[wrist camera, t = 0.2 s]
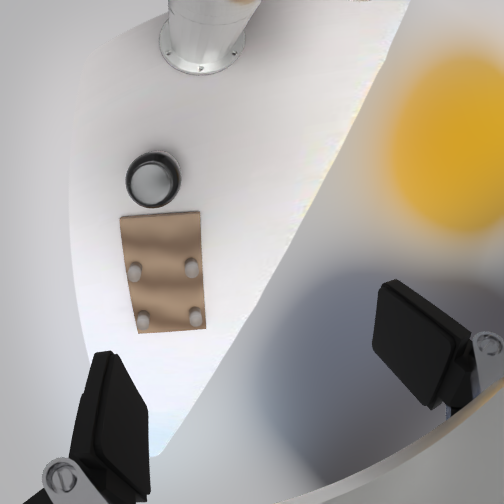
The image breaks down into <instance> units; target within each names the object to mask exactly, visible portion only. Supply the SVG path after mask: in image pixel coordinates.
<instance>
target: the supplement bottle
mask: <svg viewBox="0 0 504 504" xmlns="http://www.w3.org/2000/svg"><path fill="white" fill-rule="evenodd" d="M180 185H181V170H180V166H179V163H178V161H177V160H176V159H175V157H174V156H172V155H171V154H169V153H167V152H165V151H152V152H148V153H145V154H143V155H141V156H139V157H138V158H136V159H135V160H134V161H133V162H132V164H131V165H130V167H129V168H128V171H127V174H126V189H127V191H128V194H129V196H130V197H131V198H132V200H133V201H134V202H136V203H137V204H139V205H140V206H143V207H146V208H159V207H162V206H164V205H166V204H168V203H169V202H171V201H172V200H173V199H174V198H175V196H176V195H177V193H178V191H179V189H180Z"/></svg>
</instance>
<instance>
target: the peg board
mask: <svg viewBox="0 0 504 504" xmlns="http://www.w3.org/2000/svg"><path fill="white" fill-rule="evenodd" d="M120 229H121V238H122V246H123V253H124V260H125V267H126V273H127V279H128V285H129V291H130V296H131V301H132V307H133V312H134V316H135V321H136V326H137V330H138V334H140V333H157V332H172V331H185V330H197V329H206V319H205V305H204V290H203V273H202V253H201V227H200V212H183V213H167V214H153V215H139V216H127V217H121V218H120Z"/></svg>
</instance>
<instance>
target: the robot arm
mask: <svg viewBox="0 0 504 504" xmlns="http://www.w3.org/2000/svg"><path fill="white" fill-rule="evenodd" d="M261 1H262V0H168V5H169V6H168V7H169V19H168V20H167V21H166V22H165V24H164V25H163V27H162V30H161V32H160V37H159V45H160V50H161V52H162V55H163V57H164V58H165V59H166V61H167V62H168V63H169V64H170V65H171V66H172V67H174V68H176V69H177V70H179V71H182V72H184V73H188V74H193V75H207V74H212V73H216V72H219V71H221V70H223V69H225V68H227V67H228V66H230V65H231V64H232V63H233V62H234V61H235V60H236V59H237V58H238V57H239V55H240V54H241V52H242V50H243V48H244V44H245V32H244V28H245V26H246V25H247V23H248V21H249V20H250V18H251V17H252V15H253V14H254V12H255V11H256V9H257V8H258V6H259V4H260V3H261ZM350 1H358V2H364V1H370V0H350ZM168 53H170V55H167V54H168ZM232 54H235V56H234V55H232ZM199 69H202V71H199ZM470 336H471V332H470V331H468V330H467V329H466V328H465V327H463V326H462V325H461V324H459V323H458V322H457V321H455V320H454V319H453V318H451V317H450V316H448V315H447V314H446V313H444V312H443V311H442V310H440V309H439V308H437V307H436V306H435V305H433V304H432V303H431V302H429V301H428V300H426V299H425V298H423V297H422V296H421V295H419V294H418V293H416V292H414V291H413V290H412V289H411V288H409V287H408V286H406V285H405V284H403V283H402V282H400V281H399V280H397V279H396V280H395V279H394V280H392V281H389V282H386V283H383V284H382V286H381V288H380V289H379V291H378V300H377V310H376V318H375V326H374V334H373V340H372V347H373V350H374V351H375V353H376V354H377V355H378V356H379V357H380V358H381V359H382V361H383V362H384V363H385V364H386V365H387V366H388V367H389V368H390V369H391V370H392V371H393V373H394V374H395V375H396V376H397V377H398V378H399V379H400V380H401V381H402V383H403V384H404V385H405V386H406V387H407V388H408V389H409V390H410V391H411V393H412V394H413V395H414V396H415V397H416V398H417V399H418V400H419V402H420V403H421V404H422V405H424V406H428V407H429V409H430V410H433V409H434V408H436V407H437V406H439V405H440V404H441V403H442V401H443V402H444V403H445V404H446V421H445V422H443V423H442V424H441V425H439V426H438V427H437V428H435V429H433V430H432V431H431V432H429V433H428V434H426V435H425V436H423V437H422V438H420V439H418V440H417V441H415V442H414V443H412V444H410V445H409V446H407V447H405V448H404V449H402V450H400V451H399V452H397V453H395V454H393V455H392V456H390V457H388V458H386V459H384V460H382V461H380V462H378V463H377V464H374V465H373V466H371V467H369V468H367V469H364V470H363V471H360V472H358V473H356V474H354V475H352V476H349V477H347V478H345V479H343V480H340V481H338V482H336V483H333V484H330V485H328V486H325V487H323V488H320V489H318V490H315V491H312V492H309V493H306V494H303V495H300V496H297V497H294V498H291V499H288V500H284V501H281V502H277V503H274V504H504V340H503V339H502V338H501V337H500V336H498V335H497V334H494V333H492V332H480V333H478V334H476V335H475V336H474V338H473V341H471V340H470V339H469V338H470ZM149 471H150V470H149V441H148V409H147V406H146V404H145V402H144V401H143V399H142V397H141V396H140V394H139V392H138V390H137V389H136V387H135V385H134V383H133V381H132V380H131V378H130V376H129V374H128V372H127V370H126V368H125V366H124V364H123V363H122V361H121V359H120V357H119V355H118V354H114V353H113V352H112V351H104V352H97V353H95V354H94V357H93V360H92V364H91V367H90V371H89V375H88V379H87V382H86V387H85V390H84V393H83V394H82V396H81V399H80V403H79V407H78V412H77V416H76V421H75V425H74V431H73V435H72V441H71V447H70V453H69V458H64V457H62V458H56V459H54V460H52V461H51V462H49V463H48V464H47V465H46V467H45V469H44V470H43V474H42V483H43V486H44V488H43V489H42V490H40V491H39V492H38V493H36V494H35V495H34V496H32V497H31V498H30V499H28V500H27V501H26V502H24V503H23V504H136V502H147V495H149V494H150V492H151V487H150V472H149Z"/></svg>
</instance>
